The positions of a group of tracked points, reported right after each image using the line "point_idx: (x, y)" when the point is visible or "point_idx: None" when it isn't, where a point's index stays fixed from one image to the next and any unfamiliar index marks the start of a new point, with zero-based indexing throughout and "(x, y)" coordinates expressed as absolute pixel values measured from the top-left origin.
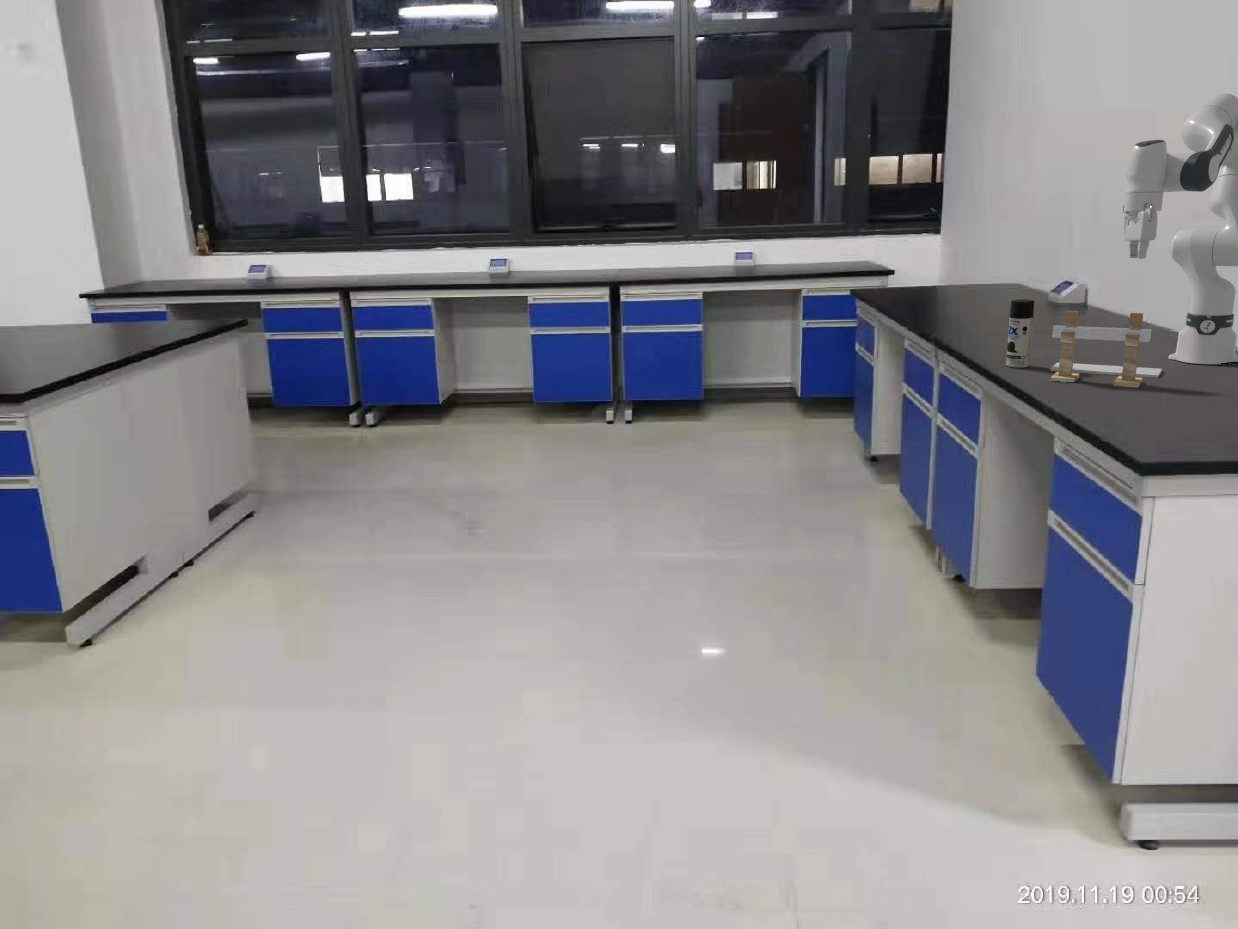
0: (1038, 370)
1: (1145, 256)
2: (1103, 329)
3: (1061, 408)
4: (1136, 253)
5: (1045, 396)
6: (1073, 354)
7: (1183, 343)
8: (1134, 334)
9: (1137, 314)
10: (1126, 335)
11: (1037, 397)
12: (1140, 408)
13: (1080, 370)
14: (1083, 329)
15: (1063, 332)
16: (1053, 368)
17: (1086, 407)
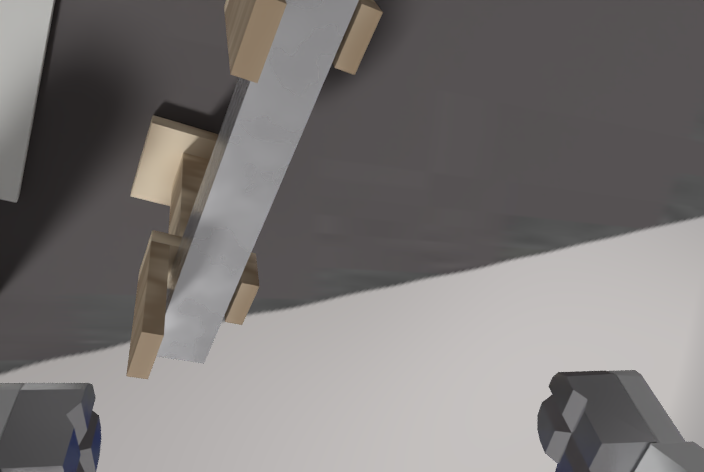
0: (16, 232)
1: (645, 386)
2: (282, 178)
3: (613, 221)
4: (72, 447)
5: (466, 244)
6: (188, 200)
7: None
8: (361, 28)
9: (271, 35)
10: (355, 68)
11: (476, 262)
12: (678, 16)
13: (36, 97)
14: (246, 254)
15: (246, 314)
16: (17, 192)
17: (620, 163)
